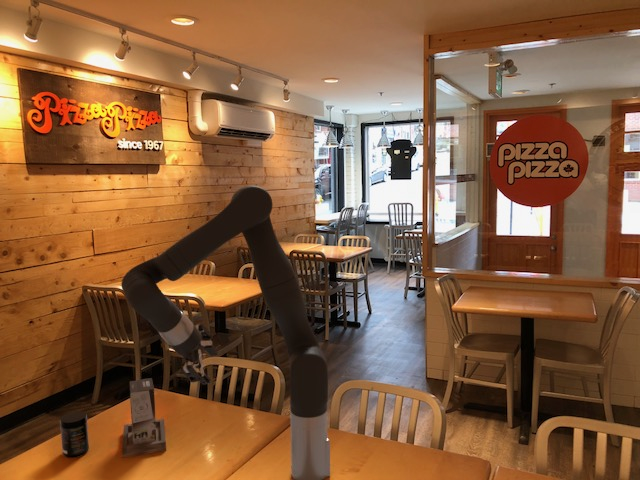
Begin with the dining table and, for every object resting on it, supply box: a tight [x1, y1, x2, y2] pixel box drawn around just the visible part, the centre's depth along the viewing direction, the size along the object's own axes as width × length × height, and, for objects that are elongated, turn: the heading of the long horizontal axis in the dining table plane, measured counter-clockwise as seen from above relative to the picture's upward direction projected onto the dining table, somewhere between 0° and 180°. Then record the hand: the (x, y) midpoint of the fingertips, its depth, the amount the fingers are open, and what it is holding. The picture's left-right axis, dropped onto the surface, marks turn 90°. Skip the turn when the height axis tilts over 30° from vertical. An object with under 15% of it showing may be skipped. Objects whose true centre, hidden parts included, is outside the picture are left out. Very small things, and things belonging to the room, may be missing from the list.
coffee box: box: [129, 377, 157, 445], centre depth 149 cm, size 9×6×16 cm
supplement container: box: [59, 410, 90, 459], centre depth 144 cm, size 7×7×10 cm
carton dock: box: [121, 418, 167, 458], centre depth 150 cm, size 11×14×2 cm
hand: (211, 368), depth 138 cm, fingers open, 8 cm apart
